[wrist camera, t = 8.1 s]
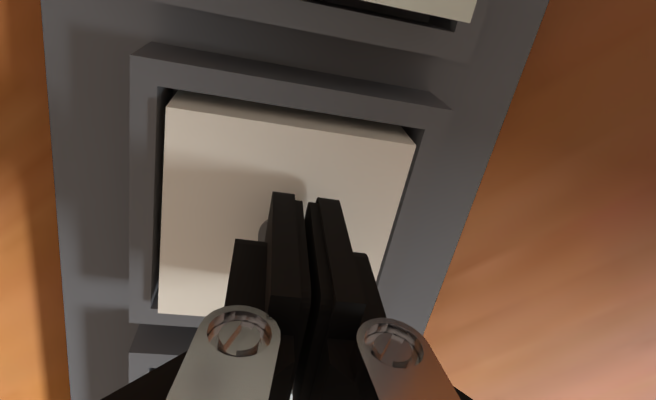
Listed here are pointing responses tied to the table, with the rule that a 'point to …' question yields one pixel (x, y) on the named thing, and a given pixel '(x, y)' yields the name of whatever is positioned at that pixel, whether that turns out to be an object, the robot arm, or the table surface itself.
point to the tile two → (435, 7)
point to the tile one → (264, 185)
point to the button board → (269, 88)
